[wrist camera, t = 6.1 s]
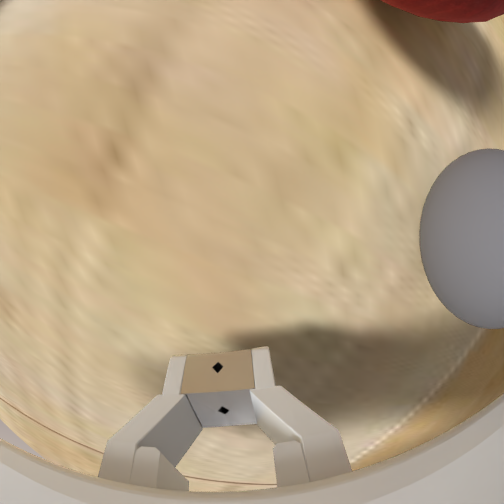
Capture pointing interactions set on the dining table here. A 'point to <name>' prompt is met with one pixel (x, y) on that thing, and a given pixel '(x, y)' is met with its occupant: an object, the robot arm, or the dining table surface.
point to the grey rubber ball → (467, 238)
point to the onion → (452, 9)
